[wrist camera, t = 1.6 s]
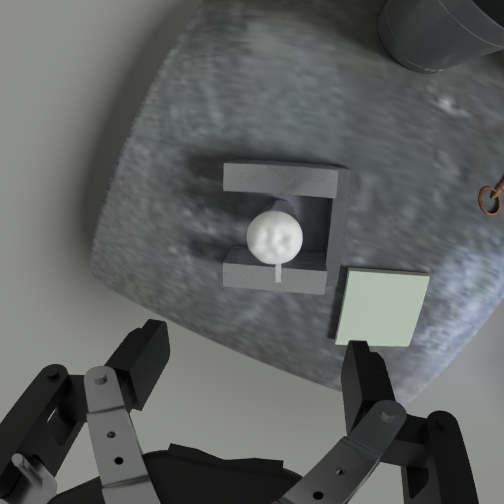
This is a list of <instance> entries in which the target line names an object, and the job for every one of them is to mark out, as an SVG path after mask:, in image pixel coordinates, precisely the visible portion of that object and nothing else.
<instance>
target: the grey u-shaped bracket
mask: <svg viewBox="0 0 504 504" xmlns="http://www.w3.org/2000/svg"><path fill="white" fill-rule="evenodd" d="M350 179H351V169H349V168H348V167H345V166H335V165H325V164H313V163H301V162H286V161H269V160H247V159H233V160H231V161H228V162H226V163H224V179H223V191H238V192H257V193H273V194H288V195H301V196H314V197H326V198H329V207H328V218H327V227H326V237H325V245H324V253H323V252H310V251H299V252H298V253H297V255H296V256H295V257H294V258H293V259H291V260H290V261H288V262H285V263H282V264H281V283H275V264H267V263H264V262H262V261H260V260H259V259H258V258H256V257H255V256H254V255H253V254H252V253H251V251H250V250H249V248H248V247H246V246H232V248H231V250H230V252H229V253H228V255H227V257H226V259H225V261H224V262H223V286H227V287H238V288H248V289H259V290H271V291H283V292H295V293H308V294H322V295H324V293H325V286H337V283H338V277H339V270H340V264H341V257H342V250H343V242H344V234H345V226H346V218H347V209H348V200H349V190H350Z"/></svg>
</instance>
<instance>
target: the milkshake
mask: <svg viewBox="0 0 504 504" xmlns="http://www.w3.org/2000/svg"><path fill="white" fill-rule="evenodd" d="M247 244H248V248H249V250H250V251H251V253H252V254H253V255H254V256H255V257H256V258H258V259H259V260H260V261H262V262H264V263H267V264H275V283H281V264H282V263H285V262H288V261H290V260H291V259H293V258H294V257H295V256H296V255H297V253H298V252H299V250H300V248H301V246H302V230H301V227H300V225H299V223H298V220H297V217H296V214H295V210H294V208H293V207H292V206H291V205H290V204H289V203H288V202H287V201H284V200H279V199H277V200H275V201H272V202H270V203H268V204H267V206H266V207H265V208H264V209H263V210H262V212H261V213H260V214H259V215H258V216H257V217H256V218H255V219H254V220H253V221H252V222H251V223H250V225H249V227H248V230H247Z"/></svg>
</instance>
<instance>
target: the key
mask: <svg viewBox="0 0 504 504" xmlns="http://www.w3.org/2000/svg"><path fill="white" fill-rule="evenodd" d="M487 189H492V190H493V191H494V192H493V194H492V199H494V198H496V197H497V198H498V206H497V209H496V210H495V211H494V212H492V213H489V212H487V211H486V209H485V208H484V206H483V203H482V195H483V193H484V191H485V190H487ZM503 189H504V179H503V180H502V182H501V183H500V184H499V186H498V187H497V188H496V189H494V188H492V187H490V186H485V187H483V188H482V189H481V191H480V193H479V203H480V206H481V208H482V210H483V211H484V212H485V213H486V214H488V215H490V216H493V215H496V214H497V213H498V212H499V210H500V206H501V201H500V197H499V193H500V192H501V191H502V190H503Z"/></svg>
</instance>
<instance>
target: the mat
mask: <svg viewBox="0 0 504 504" xmlns="http://www.w3.org/2000/svg"><path fill="white" fill-rule="evenodd" d="M429 278H430V276H429V275H428V274H427V273H421V272H407V271H393V270H379V269H366V268H352V267H348V272H347V278H346V284H345V290H344V296H343V301H342V307H341V312H340V317H339V322H338V327H337V332H336V337H335V344H339V345H348V342H349V340H363V341H367V343H368V346H409V344H410V341H411V338H412V335H413V332H414V329H415V326H416V323H417V320H418V317H419V314H420V310H421V307H422V304H423V300H424V297H425V293H426V290H427V286H428V282H429Z"/></svg>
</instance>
